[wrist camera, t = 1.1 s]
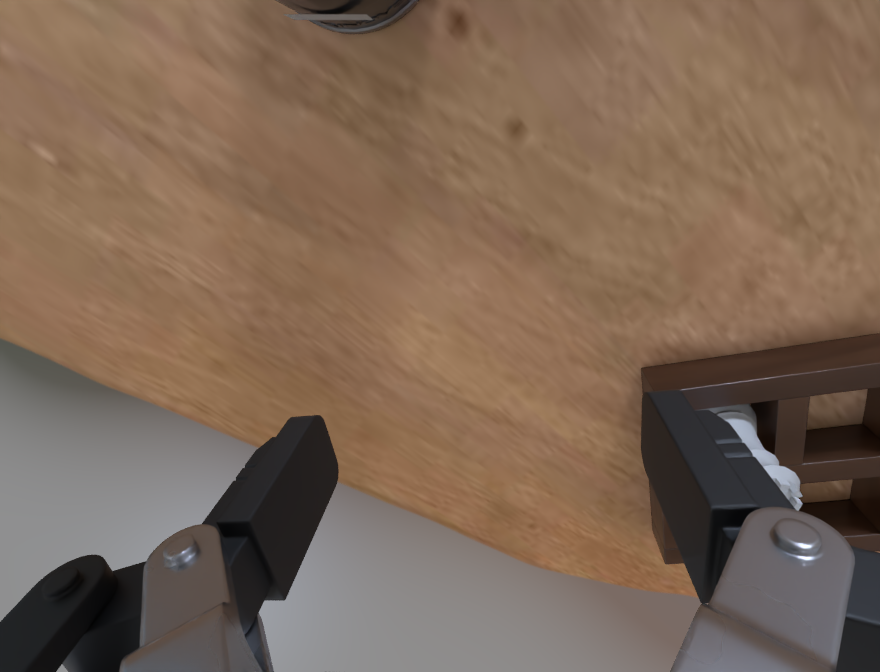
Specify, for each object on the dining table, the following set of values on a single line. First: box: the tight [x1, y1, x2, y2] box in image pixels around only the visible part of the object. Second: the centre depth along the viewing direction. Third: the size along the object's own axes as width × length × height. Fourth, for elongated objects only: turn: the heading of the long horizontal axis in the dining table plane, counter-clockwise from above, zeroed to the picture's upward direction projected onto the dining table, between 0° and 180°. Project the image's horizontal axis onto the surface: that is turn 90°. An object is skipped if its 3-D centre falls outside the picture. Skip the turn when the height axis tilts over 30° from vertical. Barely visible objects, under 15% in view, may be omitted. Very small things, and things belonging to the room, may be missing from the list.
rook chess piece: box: [702, 404, 803, 511], centre depth 27 cm, size 4×4×8 cm
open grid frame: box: [641, 334, 880, 564], centre depth 29 cm, size 15×21×3 cm
